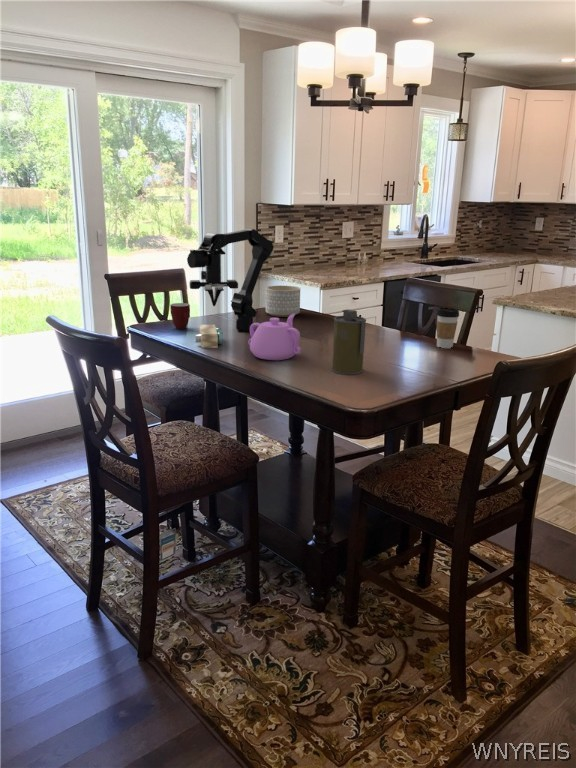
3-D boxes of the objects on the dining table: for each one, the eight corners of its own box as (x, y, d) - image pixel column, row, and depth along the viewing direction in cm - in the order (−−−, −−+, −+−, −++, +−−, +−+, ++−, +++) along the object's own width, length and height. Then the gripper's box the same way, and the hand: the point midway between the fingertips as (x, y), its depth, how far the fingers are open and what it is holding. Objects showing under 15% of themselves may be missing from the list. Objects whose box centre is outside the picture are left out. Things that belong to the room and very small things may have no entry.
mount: (214, 337, 241) (214, 324, 239) (217, 347, 225) (217, 334, 223) (199, 337, 240) (199, 324, 238) (201, 348, 224) (201, 334, 222)
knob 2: (220, 337, 239) (220, 326, 237) (220, 339, 235) (220, 329, 233) (199, 337, 237) (199, 327, 236) (200, 340, 233) (200, 329, 232)
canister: (325, 369, 200) (327, 310, 194) (345, 364, 207) (348, 306, 201) (350, 376, 193) (353, 315, 187) (370, 371, 200) (374, 311, 194)
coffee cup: (437, 343, 240) (441, 305, 235) (458, 346, 236) (462, 308, 231) (430, 347, 233) (434, 308, 228) (452, 350, 229) (456, 311, 224)
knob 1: (221, 342, 231) (221, 331, 230) (222, 344, 227) (222, 333, 226) (195, 342, 229) (195, 331, 228) (195, 345, 225) (195, 334, 224)
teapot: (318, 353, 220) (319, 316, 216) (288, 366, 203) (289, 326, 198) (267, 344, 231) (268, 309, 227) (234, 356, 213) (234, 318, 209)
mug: (197, 329, 254) (196, 305, 251) (180, 331, 249) (180, 308, 246) (183, 325, 261) (183, 302, 258) (167, 327, 256) (166, 304, 253)
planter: (284, 310, 301) (285, 284, 297) (306, 315, 289) (307, 288, 285) (258, 313, 291) (258, 287, 287) (280, 319, 279) (280, 291, 275)
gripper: (234, 264, 245) (234, 302, 250) (187, 264, 241) (189, 302, 246) (238, 267, 235) (238, 306, 240) (190, 267, 231) (191, 307, 235)
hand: (214, 306), depth 240 cm, fingers closed
